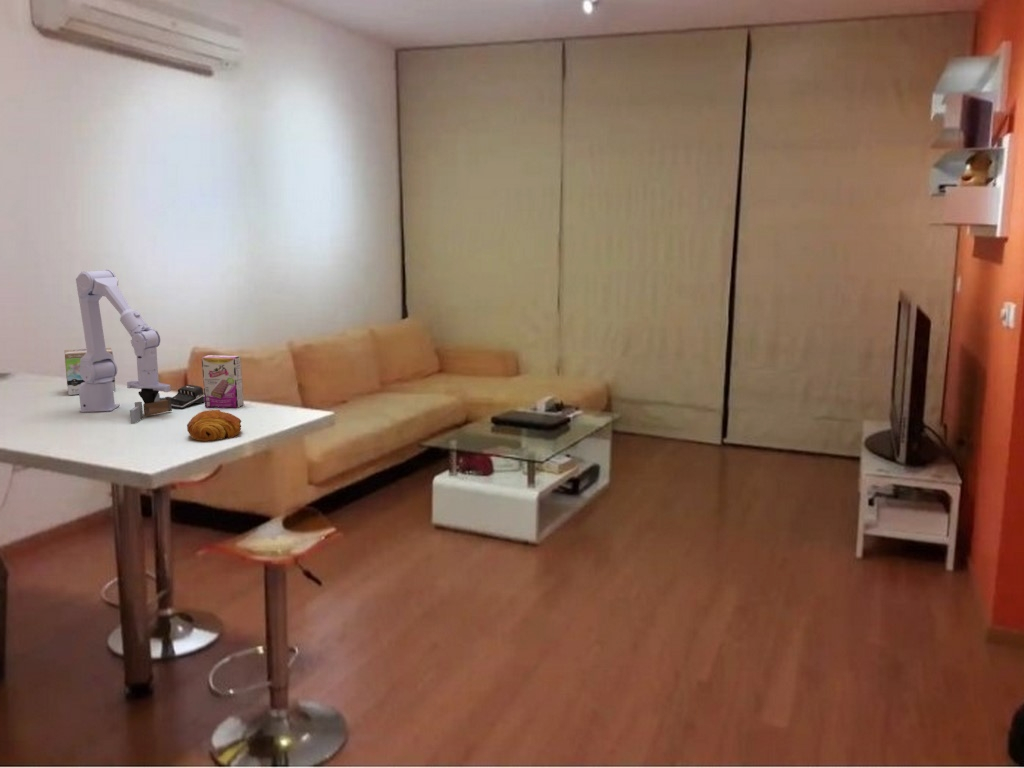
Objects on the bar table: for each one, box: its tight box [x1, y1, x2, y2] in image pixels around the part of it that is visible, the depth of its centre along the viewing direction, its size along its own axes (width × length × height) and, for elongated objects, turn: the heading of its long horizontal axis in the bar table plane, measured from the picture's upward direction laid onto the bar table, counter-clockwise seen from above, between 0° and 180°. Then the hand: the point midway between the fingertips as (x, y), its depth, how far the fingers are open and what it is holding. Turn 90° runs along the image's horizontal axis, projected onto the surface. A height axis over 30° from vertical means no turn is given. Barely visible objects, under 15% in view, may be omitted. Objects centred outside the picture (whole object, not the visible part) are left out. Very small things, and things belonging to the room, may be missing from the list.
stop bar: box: [160, 397, 205, 404], centre depth 281 cm, size 16×2×2 cm, turn 96°
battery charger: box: [170, 384, 204, 410], centre depth 277 cm, size 7×4×11 cm
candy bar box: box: [201, 354, 245, 409], centre depth 274 cm, size 11×5×16 cm, turn 84°
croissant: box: [186, 409, 242, 442], centre depth 239 cm, size 14×16×8 cm
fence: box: [129, 392, 161, 424], centre depth 265 cm, size 2×25×5 cm, turn 6°
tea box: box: [64, 347, 116, 396], centre depth 299 cm, size 15×10×15 cm, turn 117°
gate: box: [142, 396, 173, 417], centre depth 264 cm, size 2×9×4 cm, turn 145°
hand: (150, 412), depth 264 cm, fingers closed, pressing on gate
